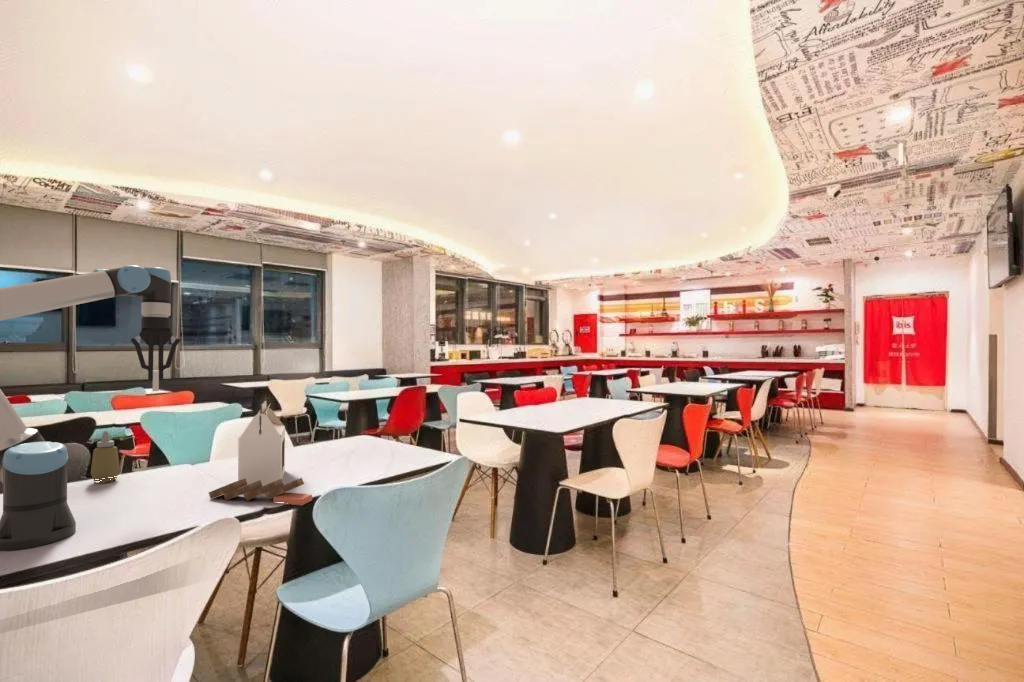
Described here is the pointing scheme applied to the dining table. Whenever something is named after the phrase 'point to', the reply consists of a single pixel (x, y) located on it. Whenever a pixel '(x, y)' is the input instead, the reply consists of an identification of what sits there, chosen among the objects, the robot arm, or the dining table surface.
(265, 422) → the gable box
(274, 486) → the domino
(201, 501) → the dining table surface
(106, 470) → the squeeze bottle
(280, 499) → the domino
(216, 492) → the domino
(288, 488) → the domino
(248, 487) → the domino
